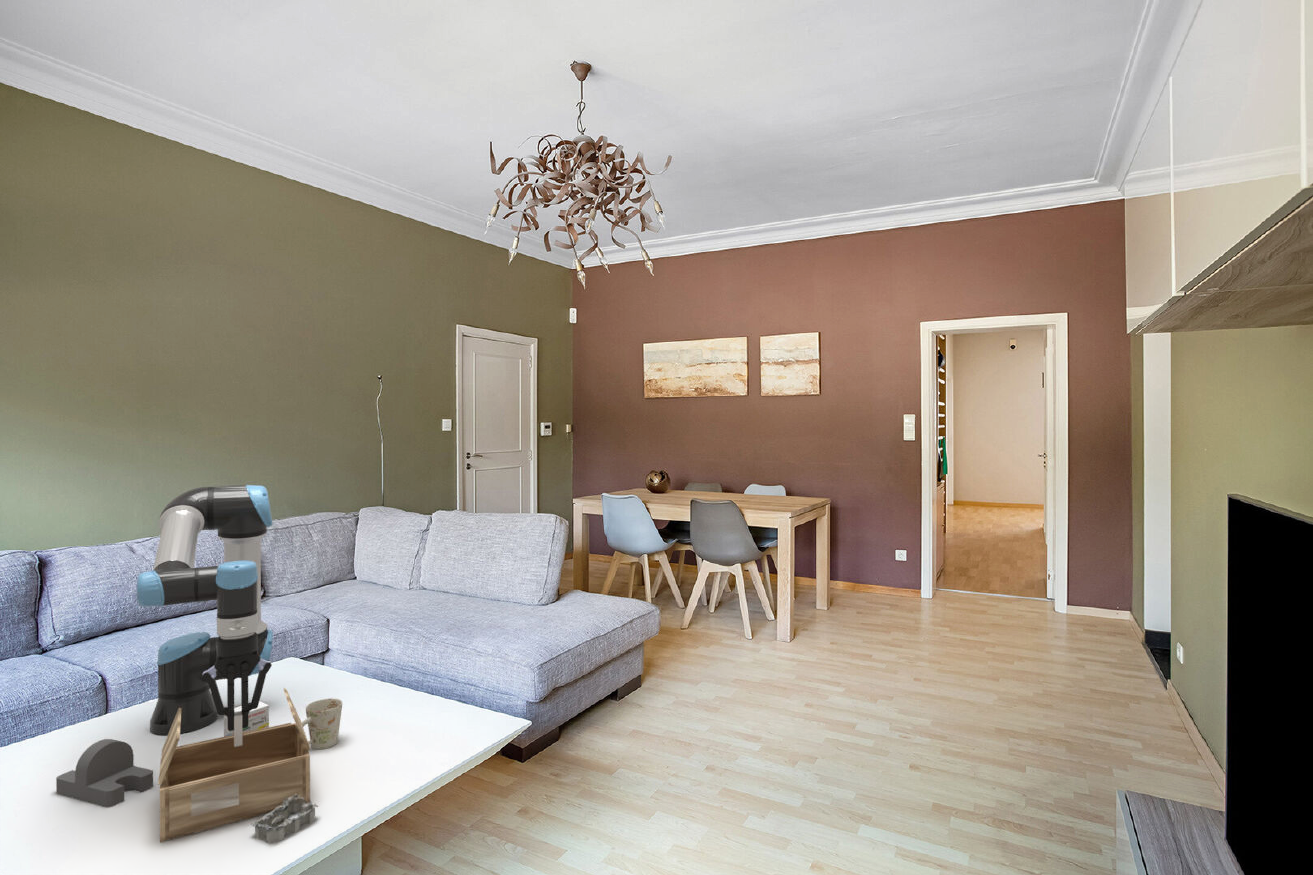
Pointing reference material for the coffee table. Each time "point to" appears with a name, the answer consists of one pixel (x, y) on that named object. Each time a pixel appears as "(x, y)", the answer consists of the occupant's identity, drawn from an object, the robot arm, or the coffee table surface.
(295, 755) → the light wood open box
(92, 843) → the coffee table surface
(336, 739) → the mug
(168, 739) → the flap
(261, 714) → the ink box
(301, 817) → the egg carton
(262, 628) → the robot arm
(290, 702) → the flap
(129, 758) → the bracket
